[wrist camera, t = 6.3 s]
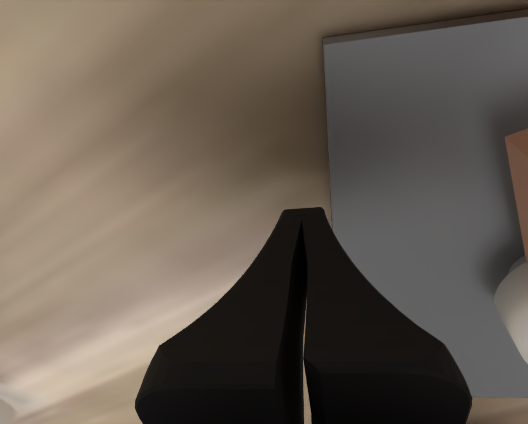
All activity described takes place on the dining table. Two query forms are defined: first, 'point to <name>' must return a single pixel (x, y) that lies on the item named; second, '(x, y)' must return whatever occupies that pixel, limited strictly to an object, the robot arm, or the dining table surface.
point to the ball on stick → (524, 277)
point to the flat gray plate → (434, 177)
